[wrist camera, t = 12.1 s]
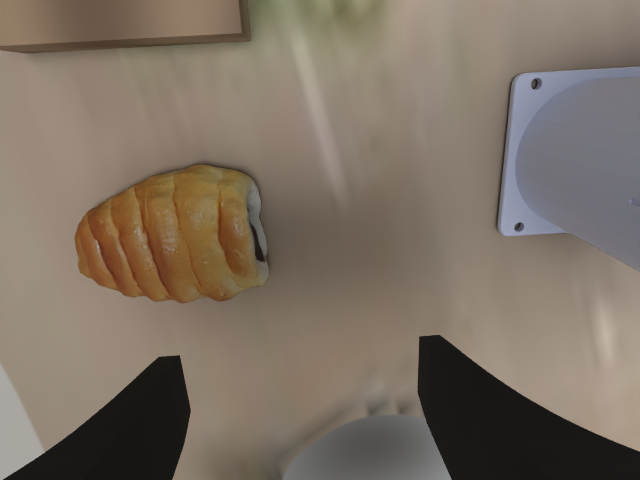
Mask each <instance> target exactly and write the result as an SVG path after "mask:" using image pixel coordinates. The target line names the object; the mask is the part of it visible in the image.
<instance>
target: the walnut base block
mask: <svg viewBox="0 0 640 480" xmlns="http://www.w3.org/2000/svg"><path fill="white" fill-rule="evenodd" d="M239 41H251V39H250V29H249V19H248V9H247V0H0V50H3V51H12V52H20V53H36V52H54V51H73V50H91V49H110V48H128V47H147V46H165V45H184V44H202V43H221V42H239Z"/></svg>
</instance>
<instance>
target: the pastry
mask: <svg viewBox="0 0 640 480" xmlns="http://www.w3.org/2000/svg"><path fill="white" fill-rule="evenodd" d="M260 209H261V199H260V197H259V191H258V188H257V186H256V184H255V183H254V181H253V180H252V179H251V178H250V177H249V176H248V175H246V174H244V173H242V172H239V171H236V170H232V169H226V168H219V167H214V166H210V165H205V164H199V165H193V166H190V167H188V168H185V169H182V170H178V171H173V172H170V173H166V174H160V175H155V176H152V177H149V178H148V179H146V180H145V181H143V182H140V183H138V184H135V185H133V186H132V187H130V188H129V189H127V190H126V191H124V192H122V193H120V194H118V195H115V196H112V197H111V198H109V199H108V200H106V201H105V202H103V203H101V204H100V205H98V206H97V207H95V208H93V209H91V210H89V211H88V212H87V213H86V214H85V215H84V217H83V218H82V220H81V222H80V223H79V225H78V228H77V232H76V234H75V243H76V250H77V254H78V257H79V259H78V267H79V270H80V273H82V274H83V275H85V276H86V277H88V278H91V279H93V280H94V281H95V282H96V283H97V284H98V285H100V286H103V287H107V288H110V289H114V290H117V291H120V292H121V293H122V294H123V295H125V296H128V297H138V296H146V297H148V298H150V299H151V300H153V301H155V302H157V301H165V300H175V301H177V302H179V303H187V302H191V301H194V300H196V299H198V298H206V297H210V298H211V299H213V300H215V301H225V300H229V299H231V298H232V297H234V296H235V295H236V294H238V293H240V292H242V291H244V290H246V289H248V288H251V287H261V286H263V285H264V284H265V283H266V282H267V279H268V276H269V267H268V264H267V261H266V258H265V256H266V254H267V242H266V237H265V234H264V232H263V227H262V224H261V222H260V220H259V212H260Z"/></svg>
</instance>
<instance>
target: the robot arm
mask: <svg viewBox="0 0 640 480" xmlns="http://www.w3.org/2000/svg"><path fill="white" fill-rule="evenodd" d="M535 78H536V80H537V82H538V84H537V87H536V88H535V89H532V88H531V82H532V80H533V79H535ZM519 222H520V224H521V225H520V227H519V228H518V229H514V227H515V225H516V224H517V223H519ZM497 227H498V231H499V232H500V233H501V234H502V235H504V236H523V235H538V234H554V233H570V234H572V235H574V236H576V237H578V238H579V239H581V240H583V241H585V242H587V243H589V244H590V245H592V246H594V247H596V248H598V249H599V250H601V251H603V252H605V253H607V254H609V255H610V256H612V257H614V258H616V259H618V260H619V261H621V262H623V263H625V264H627V265H629V266H630V267H632V268H634V269H636V270H638V271H639V272H640V67H623V68H605V69H587V70H570V71H552V72H534V73H522V74H519V75H517V76H516V77H515V78H514V80H513V82H512V86H511V96H510V106H509V116H508V126H507V136H506V146H505V156H504V165H503V175H502V185H501V195H500V205H499V215H498V225H497ZM418 395H419V398H420V402H421V405H422V409H423V412H424V415H425V418H426V421H427V424H428V427H429V428H430V431H431V433H432V436H433V438H434V440H435V443H436V445H437V447H438V450H439V452H440V454H441V456H442V458H443V461H444V463H445V465H446V468H447V470H448V472H449V474H450V477H451V479H452V480H640V452H639V451H637V450H634V449H631V448H629V447H626V446H624V445H621V444H619V443H616V442H614V441H611V440H609V439H607V438H604V437H602V436H600V435H597V434H595V433H593V432H591V431H589V430H587V429H584V428H582V427H580V426H578V425H576V424H574V423H572V422H570V421H568V420H566V419H564V418H562V417H560V416H558V415H556V414H554V413H552V412H550V411H549V410H547V409H545V408H543V407H542V406H540V405H538V404H536V403H534V402H533V401H531V400H529V399H528V398H526V397H524V396H523V395H521V394H519V393H518V392H516V391H515V390H513V389H512V388H510V387H509V386H507V385H506V384H504V383H503V382H501V381H500V380H498V379H497V378H495V377H494V376H493V375H491V374H490V373H488V372H487V371H486V370H484V369H483V368H482V367H480V366H479V365H478V364H476V363H475V362H474V361H472V360H471V359H470V358H468V357H467V356H466V355H465V354H463V353H462V352H461V351H460V350H458V349H457V348H456V347H454V346H453V345H452V344H451V343H449V342H448V341H447V340H446V339H444V338H443V337H442V336H440V335H432V336H420V337H419V366H418ZM190 412H191V409H190V404H189V399H188V394H187V389H186V384H185V379H184V374H183V369H182V364H181V359H180V355H178V356H165V357H158V358H157V359H156V360H155V361H154V362H153V363H151V364H150V365H149V366H148V367H147V368H146V369H145V370H144V371H143V372H142V373H141V374H140V375H138V376H137V377H136V378H135V379H134V380H133V381H132V382H131V383H130V384H129V385H128V386H127V387H125V388H124V389H123V390H122V391H121V392H120V393H119V394H118V395H117V396H116V397H114V398H113V399H112V400H111V401H110V402H109V403H108V404H106V405H105V406H104V407H103V408H102V409H100V410H99V411H98V412H97V413H96V414H94V415H93V416H92V417H91V418H90V419H88V420H87V421H86V422H85V423H84V424H82V425H81V426H80V427H79V428H78V429H76V430H75V431H74V432H72V433H71V434H70V435H68V436H67V437H66V438H64V439H63V440H62V441H60V442H59V443H58V444H56V445H55V446H53V447H52V448H51V449H49V450H48V451H46V452H45V453H44V454H42V455H41V456H39V457H38V458H36V459H35V460H33V461H32V462H30V463H29V464H27V465H25V466H24V467H22V468H21V469H19V470H18V471H16V472H14V473H13V474H11V475H10V476H8V477H7V478H5V479H3V480H172V479H173V476H174V473H175V470H176V467H177V464H178V461H179V458H180V455H181V452H182V449H183V446H184V442H185V437H186V433H187V428H188V423H189V417H190Z"/></svg>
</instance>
